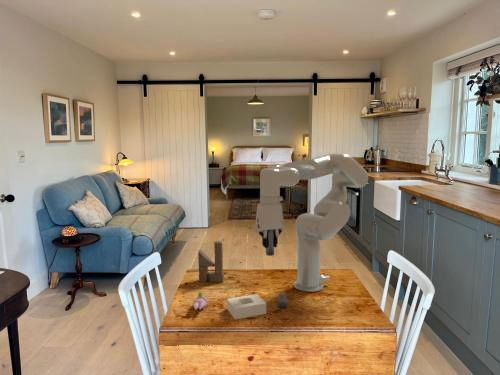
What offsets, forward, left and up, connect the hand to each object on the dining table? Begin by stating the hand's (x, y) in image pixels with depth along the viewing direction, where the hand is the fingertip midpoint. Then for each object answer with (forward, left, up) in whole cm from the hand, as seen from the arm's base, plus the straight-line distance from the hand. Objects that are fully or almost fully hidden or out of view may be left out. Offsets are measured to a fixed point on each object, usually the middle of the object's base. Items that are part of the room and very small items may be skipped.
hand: (269, 246), depth 147 cm
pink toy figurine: (+28, -2, -22) cm, 35 cm away
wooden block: (+17, -27, -21) cm, 38 cm away
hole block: (+13, +7, -21) cm, 26 cm away
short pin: (-1, +9, -21) cm, 23 cm away
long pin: (0, 0, -3) cm, 3 cm away
